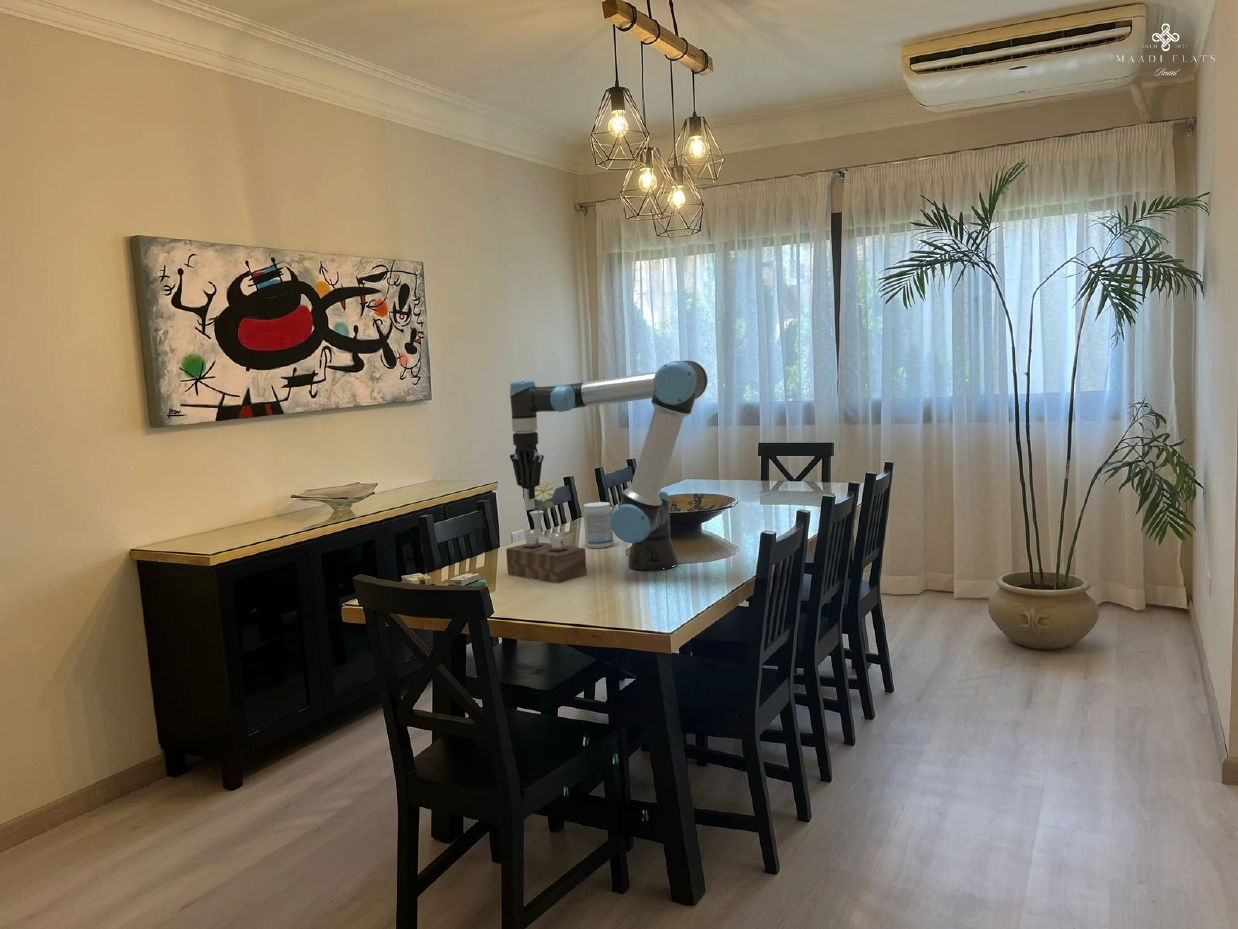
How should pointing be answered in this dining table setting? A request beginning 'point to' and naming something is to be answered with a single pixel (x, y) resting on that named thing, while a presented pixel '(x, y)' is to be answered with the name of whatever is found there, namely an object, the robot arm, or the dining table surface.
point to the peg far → (532, 539)
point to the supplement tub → (598, 525)
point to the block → (546, 562)
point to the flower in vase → (543, 494)
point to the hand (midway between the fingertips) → (529, 509)
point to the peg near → (557, 542)
